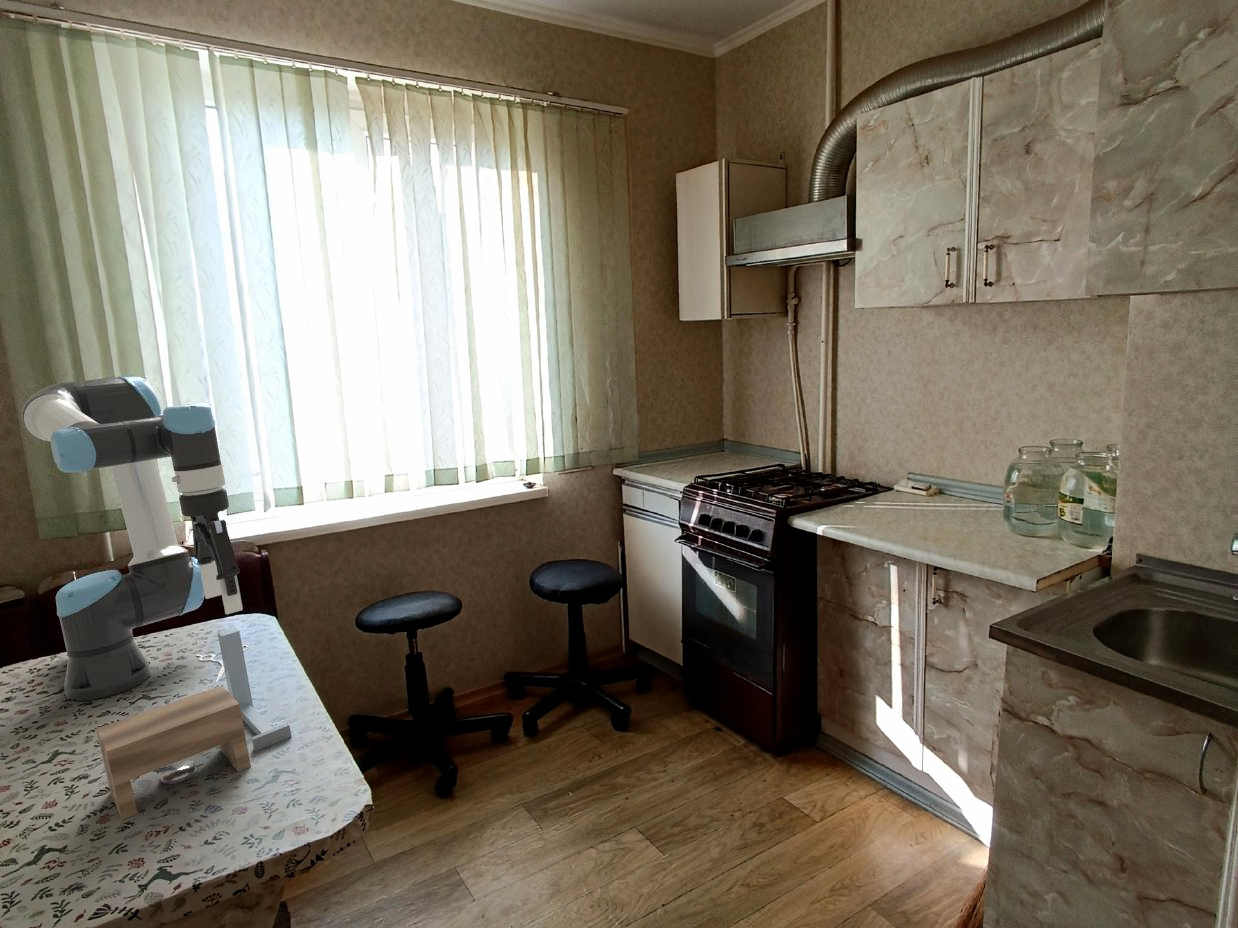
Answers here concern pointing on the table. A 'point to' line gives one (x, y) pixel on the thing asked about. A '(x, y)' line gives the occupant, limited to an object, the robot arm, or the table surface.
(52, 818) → the table surface
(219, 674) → the scissors
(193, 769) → the steel token
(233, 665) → the push tool
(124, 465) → the robot arm
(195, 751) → the wooden arch block
